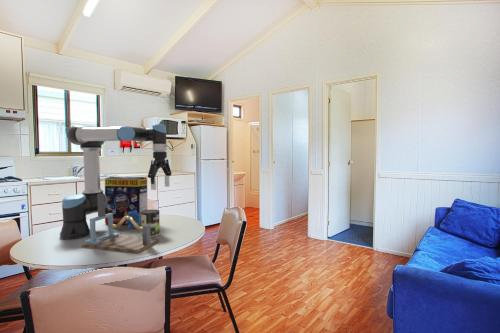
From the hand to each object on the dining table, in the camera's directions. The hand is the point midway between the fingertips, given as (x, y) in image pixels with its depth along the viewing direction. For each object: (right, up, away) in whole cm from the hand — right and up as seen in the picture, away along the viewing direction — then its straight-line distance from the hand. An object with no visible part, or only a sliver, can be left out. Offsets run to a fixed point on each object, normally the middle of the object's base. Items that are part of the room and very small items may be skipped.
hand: (160, 188), depth 164 cm
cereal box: (-33, -27, +31) cm, 53 cm away
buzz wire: (-12, -27, -15) cm, 33 cm away
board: (-17, -29, -14) cm, 36 cm away
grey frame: (-28, -27, -10) cm, 41 cm away
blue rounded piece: (-22, -27, +17) cm, 39 cm away
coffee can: (-7, -28, +3) cm, 29 cm away
